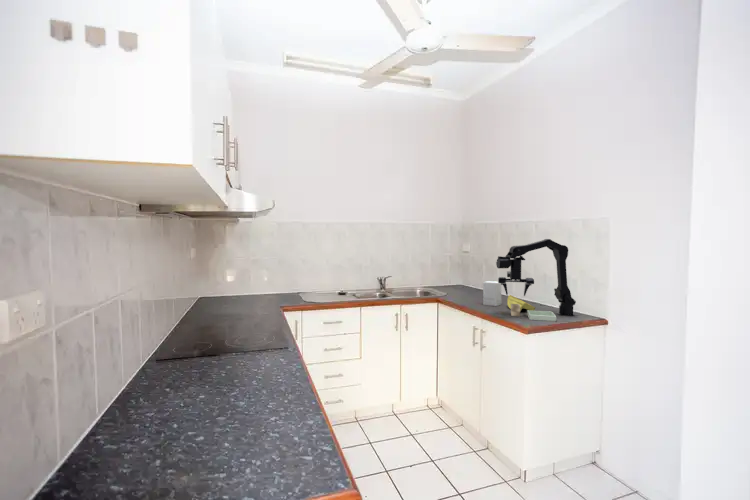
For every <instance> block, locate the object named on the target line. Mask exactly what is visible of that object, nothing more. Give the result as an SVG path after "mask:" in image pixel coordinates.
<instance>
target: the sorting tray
mask: <svg viewBox="0 0 750 500" xmlns="http://www.w3.org/2000/svg"><path fill="white" fill-rule="evenodd" d="M526 316H528V319H529V321H542V322H543V321H544V322H557V316H556V314H555V313H554V312H553V311H549V310H548V311H547V310H534V311H531V310H527V309H526Z"/></svg>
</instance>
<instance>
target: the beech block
mask: <svg viewBox="0 0 750 500" xmlns="http://www.w3.org/2000/svg"><path fill="white" fill-rule="evenodd" d="M510 315H511V316H512V317H521V311H520V305H519V304H511V309H510Z"/></svg>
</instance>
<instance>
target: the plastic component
mask: <svg viewBox="0 0 750 500" xmlns="http://www.w3.org/2000/svg"><path fill="white" fill-rule="evenodd" d="M506 303H507V307H508V308H509V309H510V310H511V304H519V305H520V312H521V311H522V309H523V310H526V311H527V310H531V311H536V306H533V305H531V304H529V303H528V302H525V301H523V300H522V299H520V298H518V297H515V296H514V295H511V294H509V295H507V300H506Z"/></svg>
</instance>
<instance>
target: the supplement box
mask: <svg viewBox="0 0 750 500" xmlns="http://www.w3.org/2000/svg"><path fill="white" fill-rule="evenodd" d="M482 285H483V286H482V288H483V289H482V290H483V292H482V294H483V296H482V298H483V300H482V301H483V303H482V304H483V306H491V307H497V306H500V305H502V285H501V283H498V281H494V280H486V281H483V282H482Z"/></svg>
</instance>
